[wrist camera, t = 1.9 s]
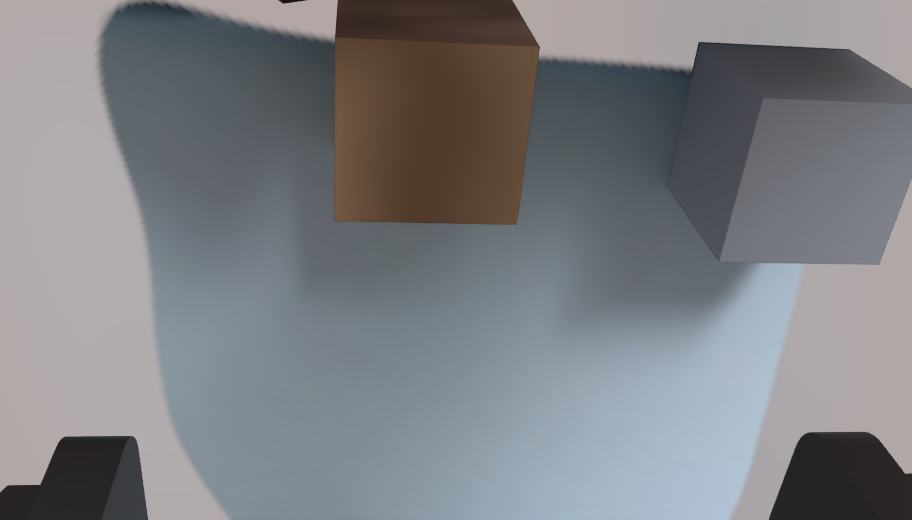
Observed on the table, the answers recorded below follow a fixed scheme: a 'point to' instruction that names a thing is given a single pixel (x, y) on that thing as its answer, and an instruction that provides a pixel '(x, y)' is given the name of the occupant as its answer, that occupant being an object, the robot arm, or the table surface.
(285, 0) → the puzzle cube
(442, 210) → the walnut block
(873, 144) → the slate block
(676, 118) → the table surface
